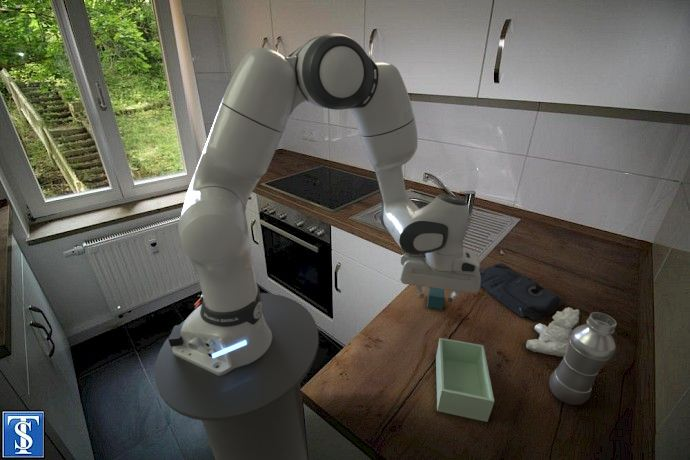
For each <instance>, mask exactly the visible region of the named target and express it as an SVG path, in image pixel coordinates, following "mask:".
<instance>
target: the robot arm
mask: <svg viewBox="0 0 690 460" xmlns="http://www.w3.org/2000/svg"><path fill="white" fill-rule="evenodd" d="M305 102H307V103H308V102H309V103H310V104H312V105H314V106H316V107H319V108H323V109H328V110H335V111H337V110H338V111H341V110H349V111H350V112H351V114H352V116H353V117H354V119H355V123H356V125H357V126H356V127H357V131H358V134H359V137H360V140H361V143H362V146H363V149H364V151H365V153H366V156H367V158H368V159H369V162H370V164H371V166H372V168H373V171H374V173H375V176H376V181H377V185H378V189H379V193H380V199H381V205H380V213H379V218H380V219H379V220H380V223H381V225H382V226H383V227H382V228H384V229H385V230H386V231H387V232H388V233H389V234H390V235H391V237H392V239H393V240H394V241H395V242H396V243H397V245H398V246H399V247H400V248H401V250H402V251H403V252H404V253H403V254H402V255H401V257H400V264H401V271H400V278H399V280H400V282H401V283H402V284H403V285H410V286H415V289H416V291H417V293H418V298H419V299H425V294H426V293H425V292H426V291H425V289H423V288H422V287H424V288H429V287H430V288H438V289H444V291H445V290H446V291H453V292H452V293H448V294H447V295H448V296H447V303H450V304H451V303H452V304H454V302H455V299H456V298H458V297H459V296H460V295H461V293H467V294H474V295H475V294H477V293H479V292H480V289H481V276H480V271H481V262H480V259H479V256H478V254H477V253H476V252H474V251H473V250H472V251H471V250H468V249H467V248H464V240H465V237H466V236H467V232H468V227H469V221H470V207H469V204H468V203H467V202H466V201H465V200H464V199H462V198H461V197H459V196H456V195H453V194H449V193H441V194H437V195H436V197H435V198H434V199H433V200H432V201H431V202H429V203H428V204H426V205H425V206H422V207H421V208H419V207H418V206H417V205H416V203H415V202H414V201H413V200H412V199H411V198H410V196H409V195H408V193H407V190H406V185H405V179H404V174H403V166H404V165H406V164H407V163H408V162H409V161H410V160H411V159H412V158H413V157H414V155H415V154H416V153H417V150H418V145H419V143H418V141H419V140H418V139H419V137H418V129H417V128H418V127H417V123H416V118H415V113H414V109H413V106H412V105H413V104H412V102H411V98H410V96H409V92H408V90H407V87H406V84H405V82H404V79H403V77H402V75H401V72H400V70H399V69H398V68H397V66H395V65H394V64H392V63H389V62H384V61H381V62H380V61H379V62H374V60H372V58H371V57H370V56H369V55H368V54H367V52H366V50H364V48H363V47H362V46H361V44H359V43H358V42H357V41H356V40H355V39H353V38H352V37H350V36H348V35H346V34H342V33H338V32H337V33H336V32H331V33H327V34H323V35H319V36H315V37H313V38H311V39H309V40H307V41H306V42H305V43H304V44H302V45H301V46H299V47H298V48H297V49H295V50H294V51H293V52H292V53H290V54H289V55H288V56H287V55H284V54H282V53H280V52H278V51H276V50H274V49H271V48H268V47H254V48H252V49H250V50H249V51H247V52H246V53H245V55H244V56H243V58H242V59H241V61H240V62H239V64H238V66H237V67H236V70H235V71H234V73H233V75H232V77H231V79H230V81H229V83H228V84H227V87H226V89H225V92H224V94H223V97H222V99H221V102H220V105H219V107H218V110H217V112H216V115H215V118H214V121H213V124H212V127H211V128H210V131H209V134H208V137H207V140H206V142H205V146H204V148H203V150H202V153H201V155H200V158H199V161H198V163H197V166H196V168H195V171H194V173H193V176H192V179H191V182H190V184H189V186H188V189H187V192H186V194H185V199H184V202H183V205H182V209H181V213H180V216H179V220H178V226H177V227H178V235H179V239H180V244H181V247H182V249H183V251H184V253H185V254H186V255H187V257H188V259H189V261H190V262H191V264H192V266H193V269H194V271H195V273H196V276H197V280H198V283H199V286H200V290H201V295H200V298H199V299H198V300H197V301H196V302H195V303H194V304H193V306H194V310H193V311H192V312H191V313H190V314H189V315H188V316H187V317H186V319H185V320H184V321H185V322H184V321H183V322H184V323H183V325H180V324H178V325H174V326H173V328H172V330H171V333H170V334H169V335H168V337H167V338H168V341H169V343H170V346H171V347H173V349H172V351H173V354H174V355H176V356H178V357H180V358H182V359H184V360H187V361H189V362H191V363H193V364H195V365H197V366H199V367H201V368H203V369H205V370H207V371H210V372H212V373H214V374H216V375H218V376H222V375H224V374H226V373H228V372H230V371H231V370H233V369H235V368H237V367H241V366H244V365H247V364H249V363H252V362H254V361H255V360H257V359H258V358H260V357H261V356H262V355H263V354H264V353H265V352H266V351H267V350H268V348H269V347H270V344H271V342H272V332H271V330H270V328H269V327H268V325H267V323H266V320H265V318H264V315H263V312H262V300H261V294H260V293H261V290H260V287H259V286H258V283H257V277H256V276H257V275H256V271H255V265H254V264H255V263H254V258H253V252H252V246H251V245H252V244H251V239H250V233H249V226H248V220H247V214H246V213H247V212H246V210H247V205H248V202H249V199H250V197H251V194H252V193H253V191H254V190H255V188H256V186H257V185H258V184H259V181H260V180H261V179H262V177H263V176H264V175H265V174H266V173H267V171H268V169H269V167H270V164H271V162H272V160H273V158H274V156H275V153H276V152H277V151H276V150H277V149H278V146H279V144H280V141H281V139H282V137H283V134H284V132H285V130H286V127H287V125H288V123H289V119H290V117H291V115H292V114H293V112H294V111H295V110H296V109H297V107H298V106H300V105H301V104H303V103H305ZM217 367H218V368H217Z"/></svg>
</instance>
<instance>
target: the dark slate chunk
mask: <svg viewBox="0 0 690 460" xmlns="http://www.w3.org/2000/svg"><path fill="white" fill-rule="evenodd" d="M479 271H480V276H481V285H480V288H483V289H484V290H485V291H486V292H487V293H488V294H490V295H491V296H492V297H493V298H494V299H496V300H497V301H499V302H500V303H502V304H503V306H505V307H506V308H508V309H509V310H510V311H511V312H513V313H515V314H516V315H517V316H519V317H522V318H526V317H527V318H528V319H530V320H531V321H535V320H539V319H541V318H542V317H545V316H548V315H551V314H553V313H556V312H557V311H558V309H559V308H560V307H561V306H563V305H564V304H565V302H564V300H563V299H562V298H561V297H560V296H559V295H557V294H555V293H554V292H552V291H550V290H548V289H547V288H545V287H544V286H541V285H540V284H539V283H538V282H536V281H535V280H533V279H532V278H530V277H528V276H527V275H523V274H521V273H520V272H517V271H516V270H513V268H511V267H510V266H508V265H507V264H505V263H502V262H499V263H496V264H492V265H488V266H486V267H484V268H482V269H480V270H479Z"/></svg>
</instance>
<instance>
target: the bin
mask: <svg viewBox="0 0 690 460" xmlns="http://www.w3.org/2000/svg"><path fill="white" fill-rule="evenodd" d="M435 370H436V371H435V373H436V378H435V379H436V410H437V411H436V412H440V413H443V414H448V415H453V416H458V417H463V418H467V419H470V420H471V419H472V420H476V421H481V422H484V423H485V422H486V423H488V422H489V418H490V416H491V413H492V410H493V407H494V404H495V402H496V401H495V397H494V391H493V386H492V381H491V377H490V371H489V366H488V361H487V356H486V350H485V346H484V344H479V343H472V342H467V341H462V340H461V341H460V340H455V339H449V338H445V337H444V338H443V337H439V339H438V344H437V350H436V355H435Z"/></svg>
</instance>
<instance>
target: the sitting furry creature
mask: <svg viewBox="0 0 690 460" xmlns="http://www.w3.org/2000/svg"><path fill="white" fill-rule="evenodd" d="M551 318H552V319H553V320H552V321H551V322H549V323H548V326H547V325H546V324H543V323H540V322H539V323H537V324H535V326H534V328H533V329H534V331H536V333H538V334H539V337H538V339H537V338H535V339H533V338H532V339H527V340H526V343H525V347H526V349H527V350H529V351H531V352H533V353H539V354H545V355H549V356H555V357H559V358H561V357H562V358H564V355H565V353H566V350H567V347H568V342H569V338H570V334H571V332H572V331H573V328H574V326H576V325H577V324H578V323H579V322H580V310H579V309H578V308H577V309H573V308H572V307H569V306H568V307H565V308H564V309H563V310H562V311H558V310H556V312H555V313H554V315H552V317H551Z"/></svg>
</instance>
